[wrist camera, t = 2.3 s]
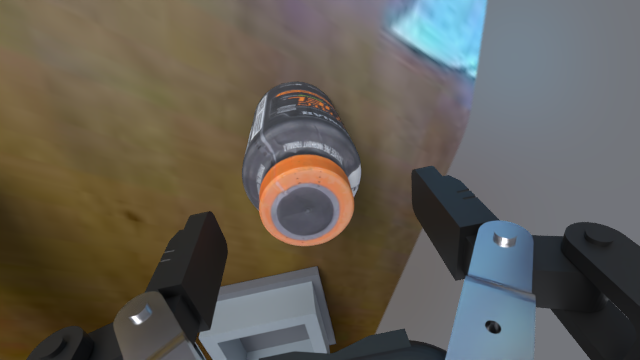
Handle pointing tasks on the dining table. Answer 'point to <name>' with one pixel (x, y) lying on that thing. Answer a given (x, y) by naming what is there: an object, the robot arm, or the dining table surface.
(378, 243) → the dining table surface
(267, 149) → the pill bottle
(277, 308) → the holder
